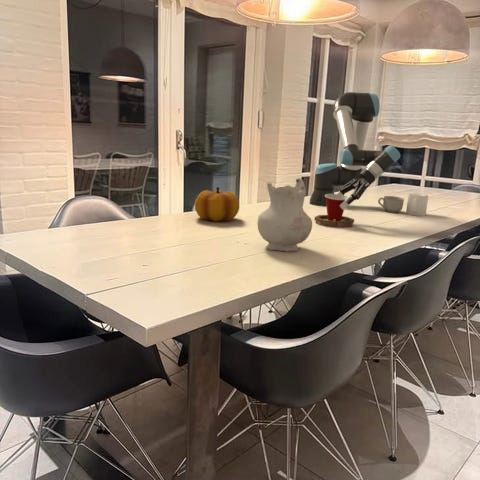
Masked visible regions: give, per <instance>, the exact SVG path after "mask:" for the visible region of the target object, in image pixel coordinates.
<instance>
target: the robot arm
mask: <svg viewBox="0 0 480 480" xmlns="http://www.w3.org/2000/svg"><path fill="white" fill-rule="evenodd" d="M380 104H381V103H380V98H379V96H378V95H377V93H370V92H351V91H348V92H344V93H342V94H341V95H340V96H338V97H337V98H336V100H335V102H334V103H333V106H332V114H333V118H334V119H335V120H336V123H337V129H338V134H339V138H340V143H341V148H342V149H341V150H340V152H339V156H338V157H339V159H338V160H339V163H340V165H339V166H338V165H337V164H336V163H333V162H332V163H321V164H320V163H319V164H317V165H316V166H315V169H314V180H313V181H314V182H313V191H312V193H311V195H310V198H309V204H310V205H313V206H320V207H327V204H326V197H325V195H326V194H335V188H336V187H338V192H337V193H336V194H339V195H344V196H345V194H347V193H349V192H350V191H352V190H353V191H352V193H351V194H350V195H349V196H347V197H348V198H347V199H346V200H345V201H344V202H343V203H342V204H340V205H339V206H340V207H341V208H342V209H343V210H346V209H347V208H348V207H349V206H350V205H351V204H352V203H353V202H354V201H359V199H360V198H361V197H362V196H363V194H364V192H365V191H366V190H367V189H368V188H369V187H370V186H371V185H372V184H373V183H374V182H375V181H376V180H377V179H378V178H379V177H382V175H383V174H384V173H385V172H386V171H388V169H389V168H390V167H392V166H393V165H394V164H395V163H396V162H397V161H398V160H399V159H400V158H401V152H400V151H399V150H398V149H397V148H396V147H395V146H393V145H388V146H386V147H384V149H383V150H372V149H371V150H368V149H367V150H366V149H364V145H365V141H366V138H367V134H368V129H369V126H370V123H372V122H373V120H374V118H376V117H378V115H380V109H381V105H380ZM363 167H364V168H363Z"/></svg>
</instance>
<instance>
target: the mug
mask: <svg viewBox="0 0 480 480" xmlns="http://www.w3.org/2000/svg"><path fill="white" fill-rule="evenodd" d="M428 200H429V195H428V194H424V193H416V192H415V193H412V192H411V193H408V195H407V202H406V209H405V210H406V211H405V213H406V214H407V215H411V216H417V217H418V216H419V217H425V216H426V215H427V208H428V202H429V201H428Z"/></svg>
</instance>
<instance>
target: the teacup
mask: <svg viewBox="0 0 480 480" xmlns="http://www.w3.org/2000/svg"><path fill="white" fill-rule="evenodd" d="M381 200H382V201H383V203H381ZM404 201H405V198H403V197H400V196H396V195H395V196H394V195H385V196H384V197H379V198H378V200H377V203H378V204H379V206H381V207H382V208H383V210H385V212H387V213H393V214H394V213H397V214H398V213H399V212H400V211H402V210H403V208H404V207H403V206H404V203H405V202H404Z"/></svg>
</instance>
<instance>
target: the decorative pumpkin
mask: <svg viewBox="0 0 480 480" xmlns="http://www.w3.org/2000/svg"><path fill="white" fill-rule="evenodd" d="M194 201H195V202H194V209H195V213H196V214H197V215H198V216H199V217H200V219H203V220H205V221H211V222H212V221H213V222H215V223H217V222H221V221H223V222H229V221H231V220H233V219H234V218H235V217H236V216H237V215H238V212H239V211H240V200H239V199H238V197H237V195H236V194H235V193H234V192H233V191H228V190H227V191H222V190H220V187H218V186H217V187H216V190H213V191H211V190H202V191H201V192H200V193H199V194H198V195H197V197H196V199H195V200H194Z"/></svg>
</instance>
